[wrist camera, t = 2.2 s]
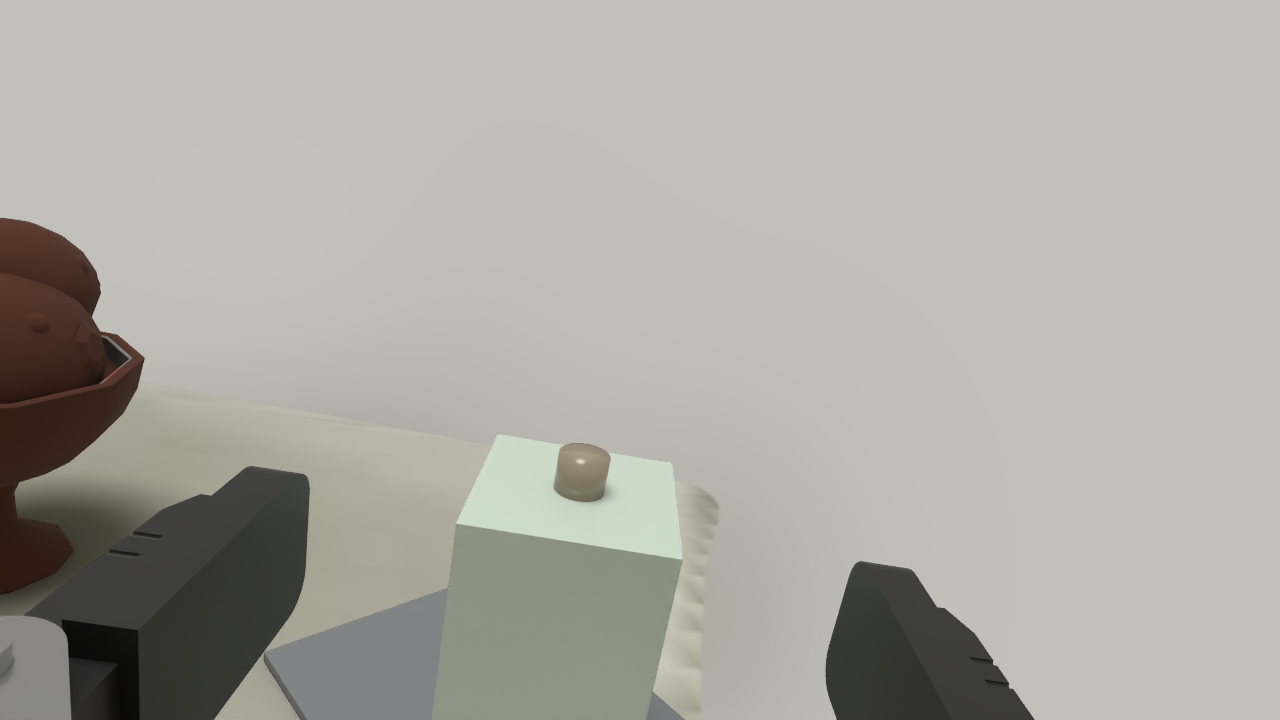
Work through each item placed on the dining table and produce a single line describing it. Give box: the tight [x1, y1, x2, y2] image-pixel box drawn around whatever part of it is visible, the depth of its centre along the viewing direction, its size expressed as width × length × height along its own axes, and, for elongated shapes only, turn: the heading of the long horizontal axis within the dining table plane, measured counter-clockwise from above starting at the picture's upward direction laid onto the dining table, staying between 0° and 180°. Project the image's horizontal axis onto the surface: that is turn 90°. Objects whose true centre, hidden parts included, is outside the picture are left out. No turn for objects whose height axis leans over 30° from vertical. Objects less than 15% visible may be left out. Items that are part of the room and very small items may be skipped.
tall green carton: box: [432, 434, 683, 720], centre depth 24 cm, size 6×6×13 cm
